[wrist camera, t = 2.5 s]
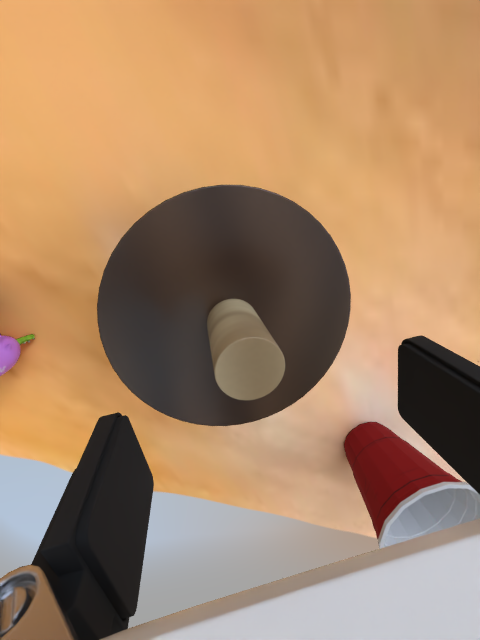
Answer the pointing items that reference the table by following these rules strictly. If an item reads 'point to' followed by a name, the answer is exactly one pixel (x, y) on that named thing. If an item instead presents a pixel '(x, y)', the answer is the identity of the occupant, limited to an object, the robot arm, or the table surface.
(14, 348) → the purple toy package
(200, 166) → the table surface
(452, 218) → the table surface
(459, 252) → the table surface
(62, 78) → the table surface
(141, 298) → the basket lid
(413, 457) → the plastic cup
